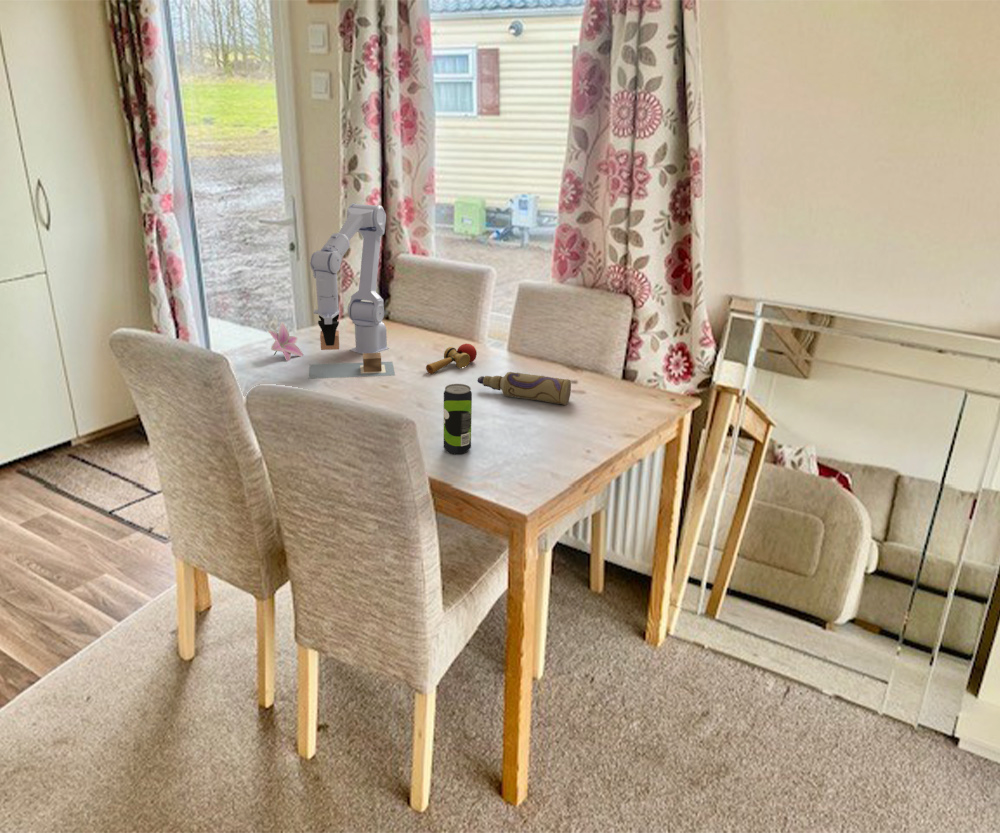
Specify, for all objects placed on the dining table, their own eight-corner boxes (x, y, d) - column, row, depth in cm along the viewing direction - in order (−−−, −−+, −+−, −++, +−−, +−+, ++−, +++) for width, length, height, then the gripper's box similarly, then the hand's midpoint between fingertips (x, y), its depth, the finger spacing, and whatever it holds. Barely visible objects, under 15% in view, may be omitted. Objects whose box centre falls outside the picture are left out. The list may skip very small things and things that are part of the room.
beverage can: (470, 444, 181) (471, 383, 175) (470, 455, 175) (471, 393, 169) (444, 443, 181) (444, 383, 175) (443, 455, 175) (443, 393, 169)
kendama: (441, 382, 222) (484, 360, 234) (436, 361, 220) (480, 340, 231) (423, 379, 228) (467, 358, 239) (418, 359, 225) (462, 339, 237)
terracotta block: (339, 344, 223) (338, 330, 222) (339, 349, 219) (338, 335, 217) (321, 344, 222) (320, 331, 221) (321, 349, 218) (320, 336, 216)
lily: (266, 369, 227) (278, 343, 223) (251, 344, 233) (263, 319, 229) (301, 373, 236) (314, 348, 232) (286, 349, 242) (299, 324, 238)
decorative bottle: (572, 399, 209) (573, 376, 207) (564, 409, 203) (566, 385, 200) (483, 385, 218) (483, 362, 215) (472, 394, 211) (473, 371, 208)
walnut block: (380, 365, 228) (380, 352, 227) (381, 371, 224) (381, 358, 222) (363, 366, 227) (362, 353, 226) (363, 372, 223) (363, 358, 221)
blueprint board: (392, 362, 232) (392, 361, 232) (395, 376, 221) (395, 375, 221) (309, 365, 228) (309, 364, 228) (308, 379, 217) (308, 378, 217)
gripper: (313, 288, 221) (316, 334, 226) (311, 301, 208) (314, 350, 213) (338, 288, 222) (341, 334, 227) (338, 301, 209) (341, 349, 214)
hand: (330, 342), depth 220 cm, fingers closed on terracotta block, 5 cm apart
